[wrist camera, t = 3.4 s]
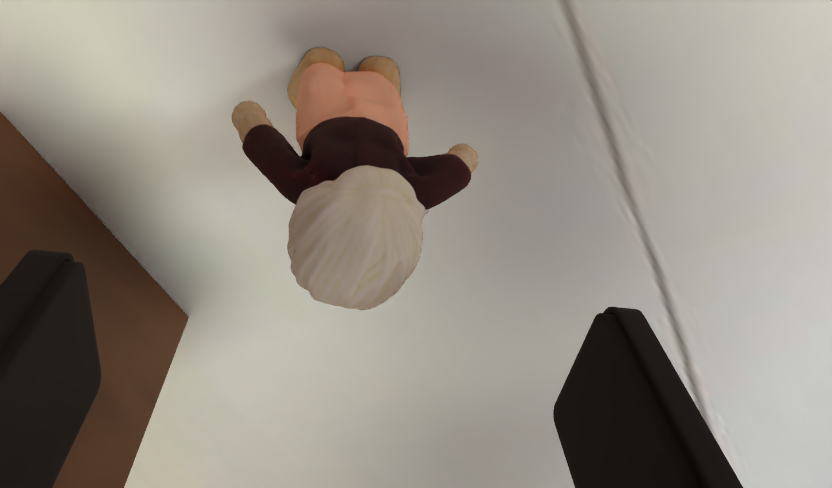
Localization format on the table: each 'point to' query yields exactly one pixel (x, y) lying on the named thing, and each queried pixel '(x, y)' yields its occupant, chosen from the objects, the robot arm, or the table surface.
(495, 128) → the table surface
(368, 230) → the grandmother figurine
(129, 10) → the table surface
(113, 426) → the shelf
